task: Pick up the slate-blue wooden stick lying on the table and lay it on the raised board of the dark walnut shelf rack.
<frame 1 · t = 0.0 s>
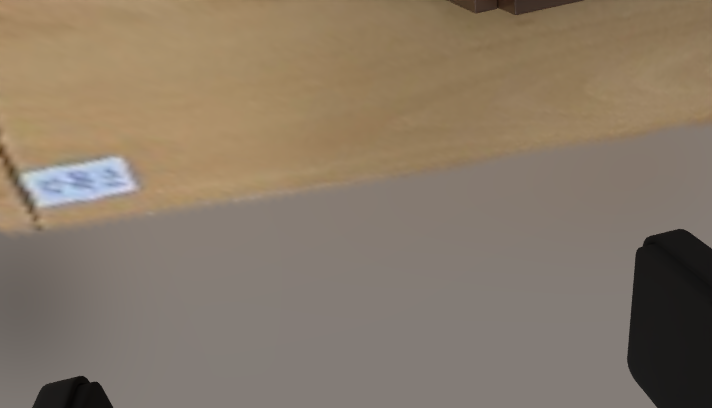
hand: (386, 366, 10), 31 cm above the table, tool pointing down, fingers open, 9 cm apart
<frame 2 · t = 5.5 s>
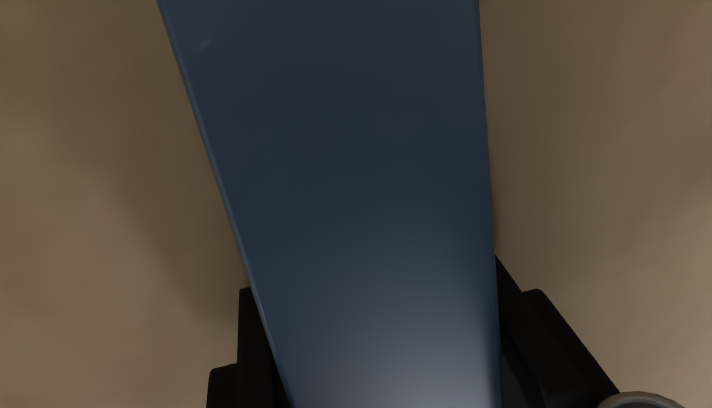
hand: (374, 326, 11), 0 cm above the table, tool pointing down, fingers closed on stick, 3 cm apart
stick: (372, 318, 11), on the table, touching gripper
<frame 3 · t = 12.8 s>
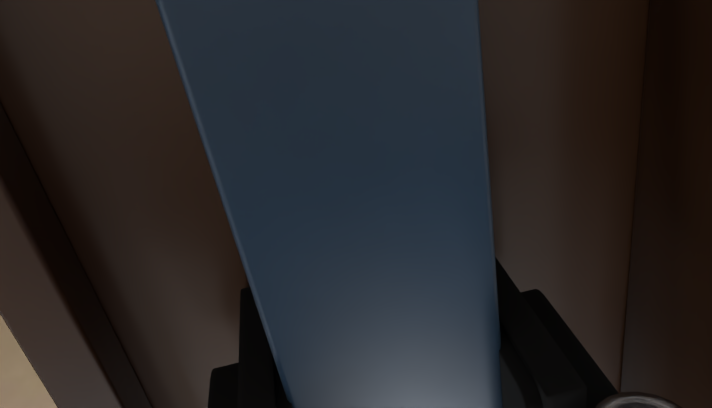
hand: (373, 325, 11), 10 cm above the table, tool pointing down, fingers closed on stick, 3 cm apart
stick: (372, 317, 11), point 10 cm above the table, touching gripper, shelf rack
shelf rack: (331, 135, 20), on the table
when the fingers open (11 cm above the table, at t = 13.7 s): stick stays where it is, resting on shelf rack.
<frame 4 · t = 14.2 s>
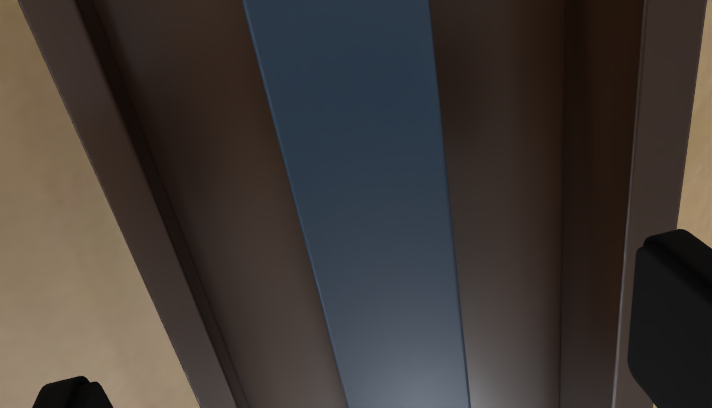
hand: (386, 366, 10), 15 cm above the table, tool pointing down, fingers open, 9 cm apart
stick: (363, 199, 14), point 10 cm above the table, touching shelf rack
shelf rack: (335, 84, 23), on the table
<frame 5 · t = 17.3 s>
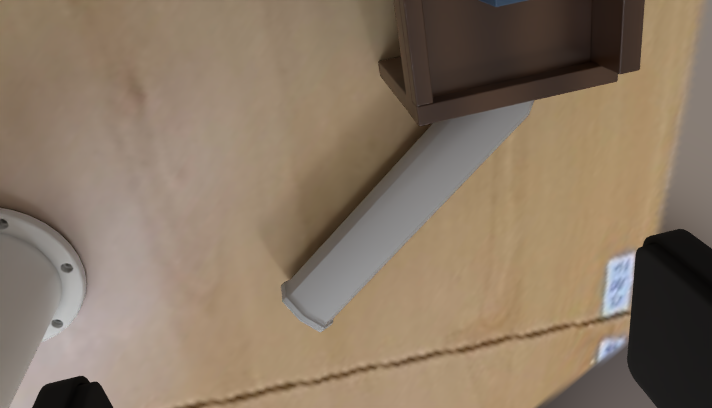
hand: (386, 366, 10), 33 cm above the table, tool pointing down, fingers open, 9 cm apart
tube: (398, 184, 46), on the table
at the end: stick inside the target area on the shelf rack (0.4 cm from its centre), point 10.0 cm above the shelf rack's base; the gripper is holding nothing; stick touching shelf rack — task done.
